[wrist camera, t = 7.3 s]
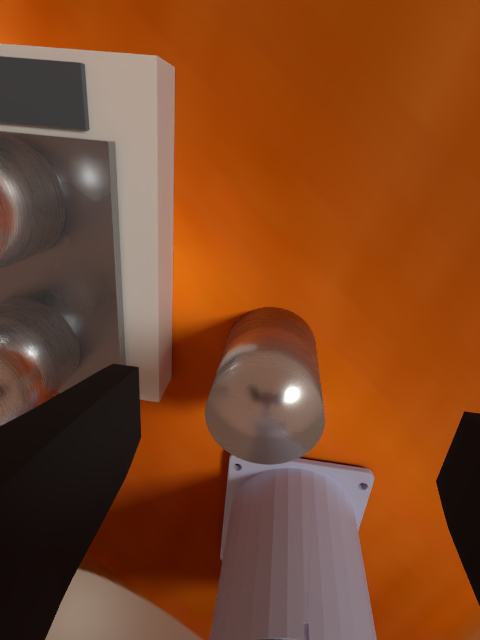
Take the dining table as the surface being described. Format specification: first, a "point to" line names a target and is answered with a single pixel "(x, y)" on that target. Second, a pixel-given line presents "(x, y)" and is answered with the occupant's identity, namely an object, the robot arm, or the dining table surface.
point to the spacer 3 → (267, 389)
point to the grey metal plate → (79, 252)
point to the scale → (131, 162)
